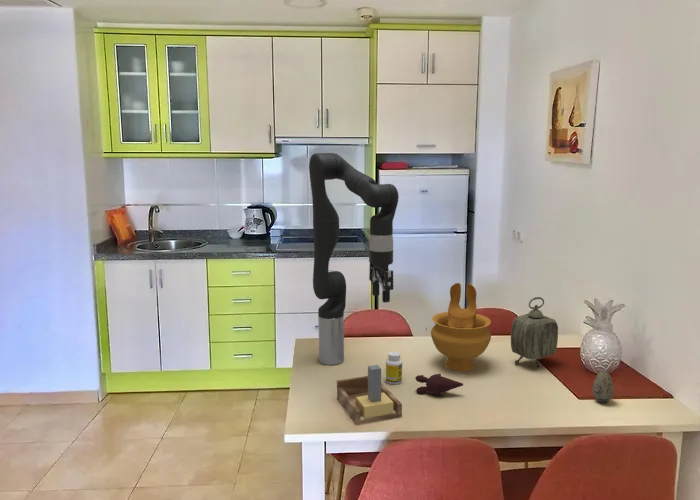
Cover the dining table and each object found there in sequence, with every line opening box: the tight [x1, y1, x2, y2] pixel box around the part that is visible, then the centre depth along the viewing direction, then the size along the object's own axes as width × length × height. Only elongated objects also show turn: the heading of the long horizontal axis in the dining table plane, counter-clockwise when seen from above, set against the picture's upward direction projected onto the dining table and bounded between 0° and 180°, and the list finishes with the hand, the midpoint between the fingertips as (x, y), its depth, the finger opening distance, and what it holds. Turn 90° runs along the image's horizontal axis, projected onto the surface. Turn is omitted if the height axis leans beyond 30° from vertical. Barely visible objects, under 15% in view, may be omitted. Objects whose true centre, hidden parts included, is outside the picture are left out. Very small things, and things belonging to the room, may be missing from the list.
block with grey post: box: [356, 364, 393, 418], centre depth 166 cm, size 7×9×14 cm
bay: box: [336, 375, 403, 425], centre depth 171 cm, size 18×14×6 cm
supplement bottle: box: [385, 351, 403, 385], centre depth 190 cm, size 5×5×10 cm
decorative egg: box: [592, 370, 615, 404], centre depth 174 cm, size 6×6×10 cm
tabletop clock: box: [510, 296, 559, 368], centre depth 202 cm, size 14×9×25 cm, turn 115°
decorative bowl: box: [430, 282, 492, 372], centre depth 202 cm, size 21×21×30 cm
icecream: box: [415, 373, 464, 396], centre depth 180 cm, size 7×7×15 cm
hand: (380, 298), depth 180 cm, fingers open, 8 cm apart
